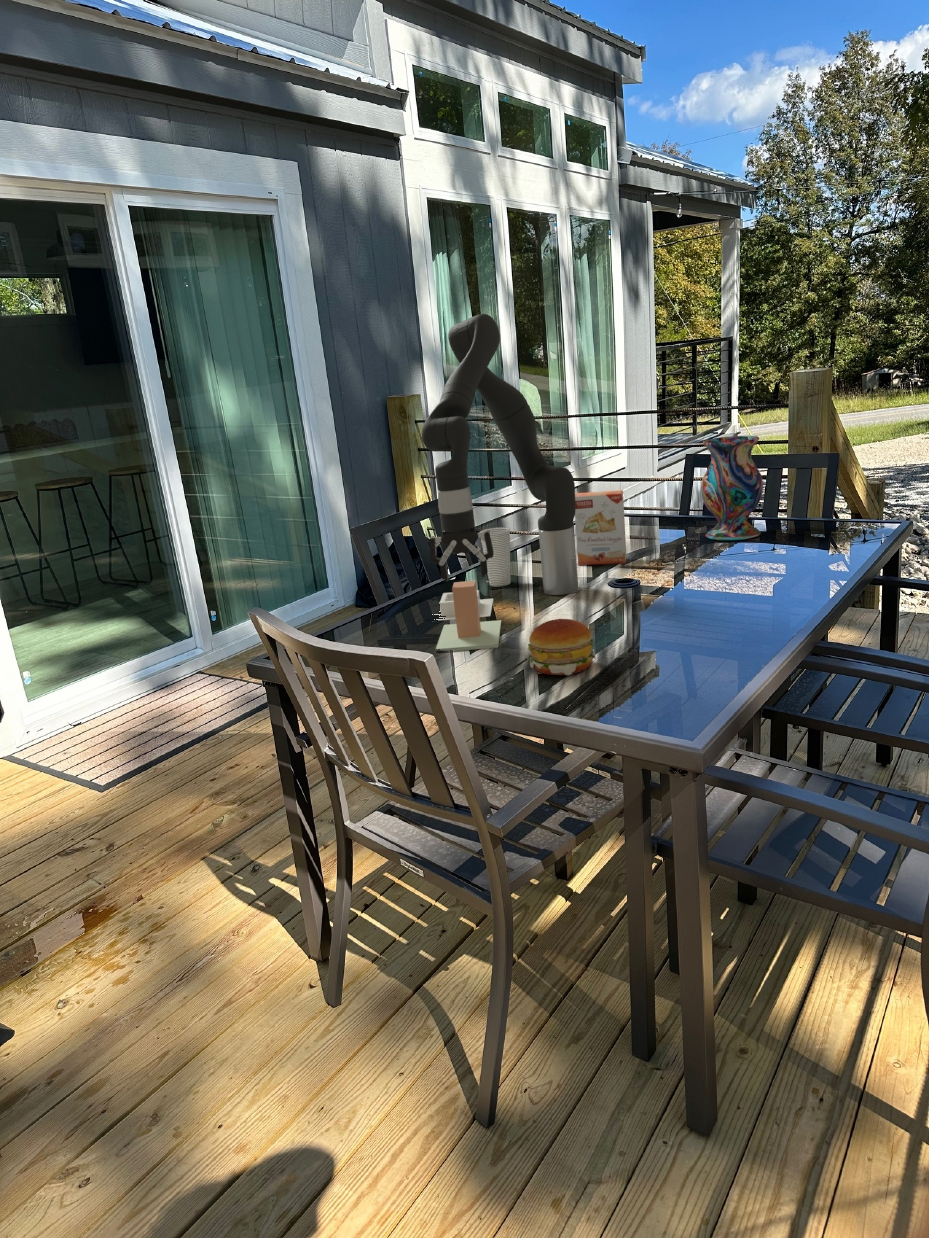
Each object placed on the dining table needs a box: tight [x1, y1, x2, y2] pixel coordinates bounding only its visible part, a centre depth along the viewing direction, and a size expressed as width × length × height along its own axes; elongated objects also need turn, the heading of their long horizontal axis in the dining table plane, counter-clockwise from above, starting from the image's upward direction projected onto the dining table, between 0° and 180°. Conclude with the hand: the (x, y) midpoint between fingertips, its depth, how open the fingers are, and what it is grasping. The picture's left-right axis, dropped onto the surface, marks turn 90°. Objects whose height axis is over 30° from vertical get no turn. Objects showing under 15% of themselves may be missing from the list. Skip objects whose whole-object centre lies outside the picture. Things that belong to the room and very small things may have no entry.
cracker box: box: [574, 489, 627, 566], centre depth 252 cm, size 14×6×21 cm, turn 76°
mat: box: [435, 619, 502, 651], centre depth 200 cm, size 14×18×1 cm
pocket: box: [432, 589, 494, 621], centre depth 221 cm, size 16×16×4 cm
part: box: [451, 580, 481, 638], centre depth 198 cm, size 5×5×12 cm
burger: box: [527, 618, 597, 676], centre depth 173 cm, size 13×14×10 cm
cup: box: [479, 526, 511, 588], centre depth 242 cm, size 8×8×16 cm
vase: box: [700, 435, 764, 541], centre depth 266 cm, size 18×18×30 cm
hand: (465, 578), depth 196 cm, fingers open, 8 cm apart
